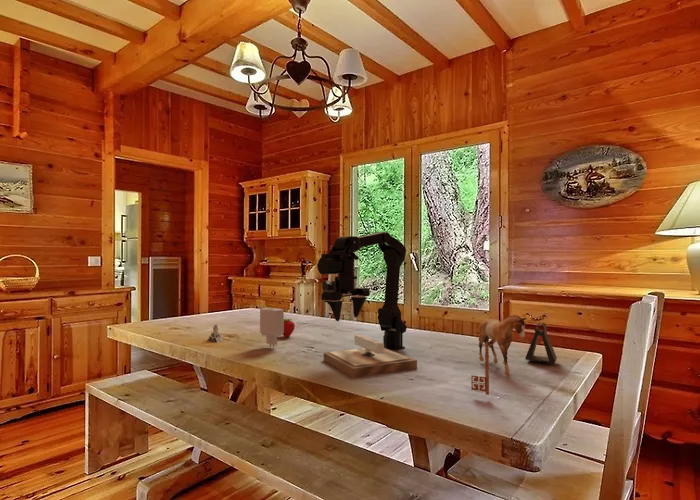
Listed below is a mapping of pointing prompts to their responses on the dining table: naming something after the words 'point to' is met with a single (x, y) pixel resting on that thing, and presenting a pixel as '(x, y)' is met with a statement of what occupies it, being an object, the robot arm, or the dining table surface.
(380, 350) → the T-key
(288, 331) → the strawberry
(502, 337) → the horse figurine
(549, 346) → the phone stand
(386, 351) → the brown square tray
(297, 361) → the dining table surface
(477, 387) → the key
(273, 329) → the charger
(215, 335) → the grey stone figurine
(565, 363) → the dining table surface
